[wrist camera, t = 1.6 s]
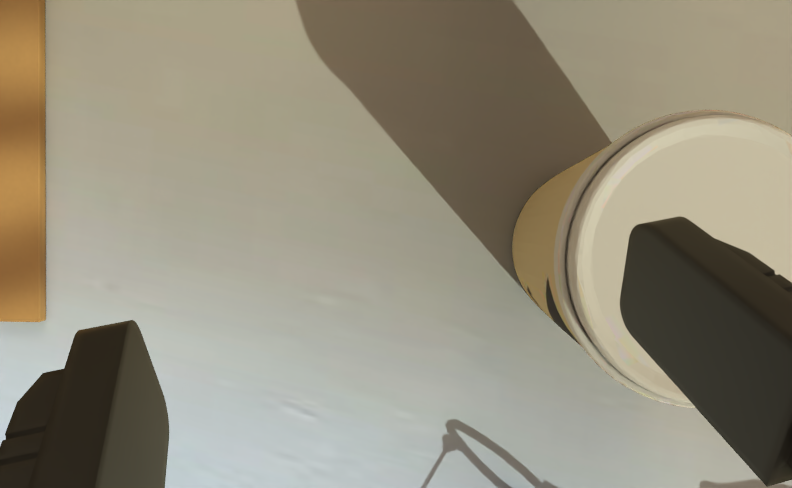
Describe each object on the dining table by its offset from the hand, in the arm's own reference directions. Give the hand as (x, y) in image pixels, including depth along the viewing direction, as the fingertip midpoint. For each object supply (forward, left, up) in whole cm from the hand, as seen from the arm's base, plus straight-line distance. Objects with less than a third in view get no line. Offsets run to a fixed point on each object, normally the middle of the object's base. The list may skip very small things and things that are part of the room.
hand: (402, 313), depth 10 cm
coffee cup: (0, +10, -21) cm, 23 cm away
